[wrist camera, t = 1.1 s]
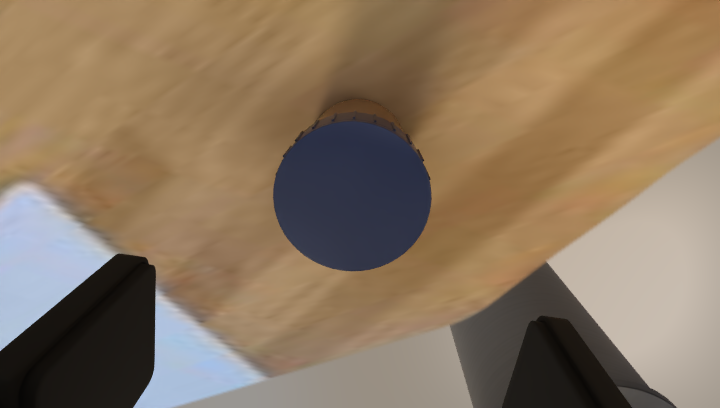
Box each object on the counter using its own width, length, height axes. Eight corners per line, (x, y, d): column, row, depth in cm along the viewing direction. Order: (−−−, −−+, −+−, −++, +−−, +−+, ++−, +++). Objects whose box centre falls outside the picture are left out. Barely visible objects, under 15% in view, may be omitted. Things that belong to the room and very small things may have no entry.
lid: (438, 123, 22) (448, 133, 19) (410, 257, 24) (415, 282, 21) (290, 99, 21) (279, 107, 19) (276, 237, 24) (264, 260, 21)
